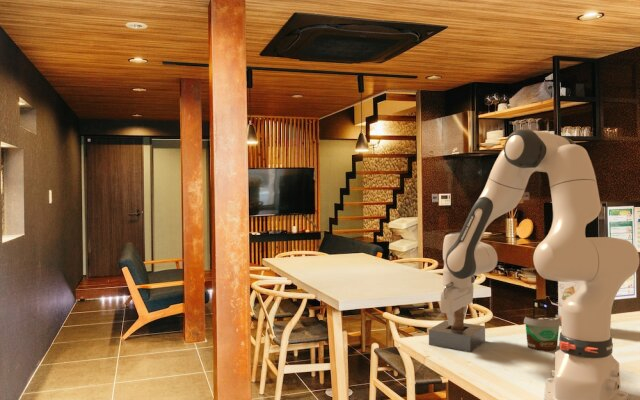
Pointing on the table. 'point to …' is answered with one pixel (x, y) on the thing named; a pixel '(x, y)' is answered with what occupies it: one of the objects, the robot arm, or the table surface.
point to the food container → (542, 333)
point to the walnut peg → (458, 320)
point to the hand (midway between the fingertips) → (457, 321)
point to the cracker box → (565, 293)
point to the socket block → (457, 336)
